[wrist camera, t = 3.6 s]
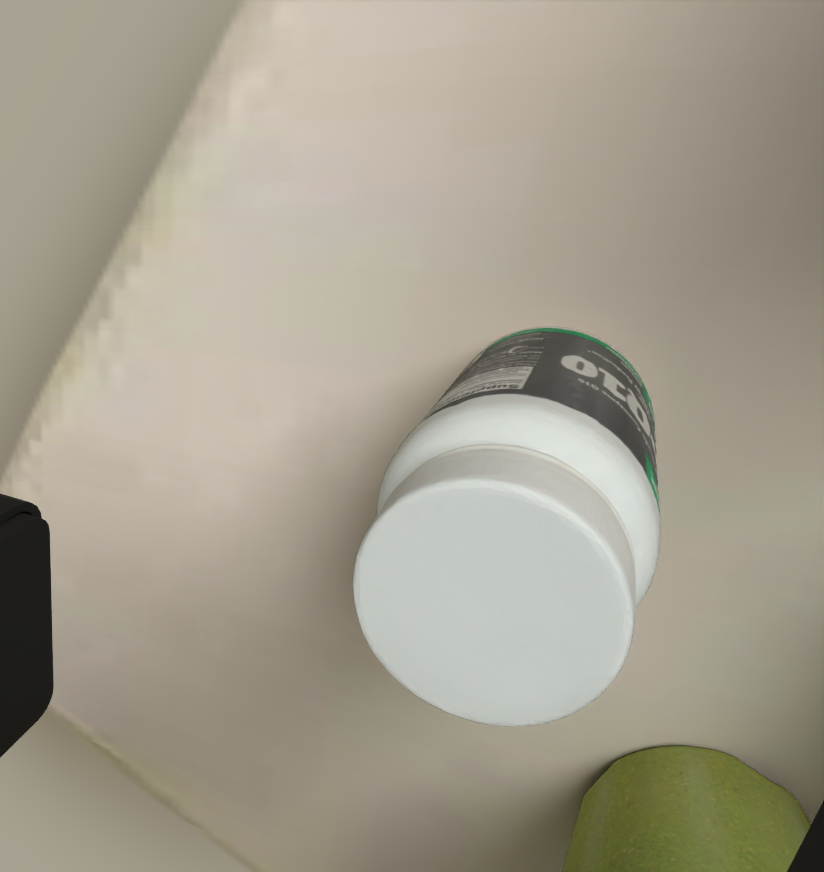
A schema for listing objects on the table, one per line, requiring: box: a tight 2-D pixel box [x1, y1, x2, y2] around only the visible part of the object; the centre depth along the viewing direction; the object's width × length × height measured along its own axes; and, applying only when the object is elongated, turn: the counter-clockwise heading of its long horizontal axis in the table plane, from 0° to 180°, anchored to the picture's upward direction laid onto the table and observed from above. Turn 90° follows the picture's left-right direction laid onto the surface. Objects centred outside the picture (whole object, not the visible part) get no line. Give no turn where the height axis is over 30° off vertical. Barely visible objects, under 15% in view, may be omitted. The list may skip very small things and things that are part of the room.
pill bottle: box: [353, 327, 660, 727], centre depth 14 cm, size 5×5×8 cm
